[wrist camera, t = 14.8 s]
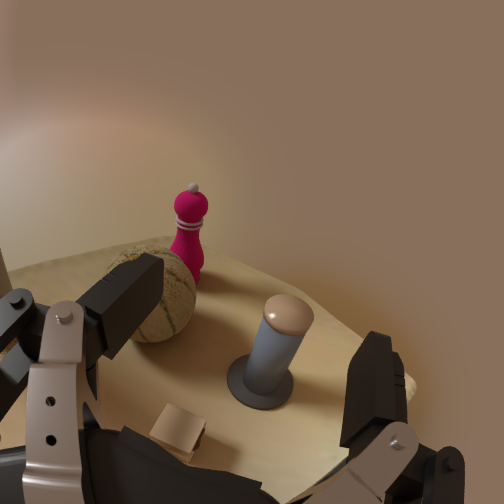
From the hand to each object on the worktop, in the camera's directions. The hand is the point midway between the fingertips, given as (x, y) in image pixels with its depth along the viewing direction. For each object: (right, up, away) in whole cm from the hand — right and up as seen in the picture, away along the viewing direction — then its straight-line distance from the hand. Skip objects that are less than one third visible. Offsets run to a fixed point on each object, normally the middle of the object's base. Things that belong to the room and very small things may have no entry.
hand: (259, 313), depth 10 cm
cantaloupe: (-17, -10, +35) cm, 40 cm away
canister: (+1, -17, +30) cm, 35 cm away
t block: (-10, -22, +20) cm, 31 cm away
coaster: (+1, -17, +30) cm, 35 cm away
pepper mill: (-14, -3, +48) cm, 50 cm away
